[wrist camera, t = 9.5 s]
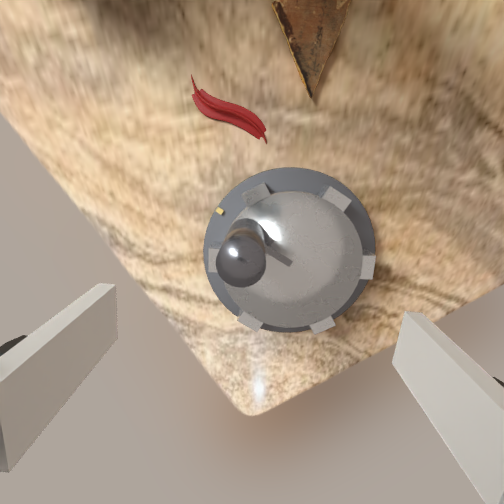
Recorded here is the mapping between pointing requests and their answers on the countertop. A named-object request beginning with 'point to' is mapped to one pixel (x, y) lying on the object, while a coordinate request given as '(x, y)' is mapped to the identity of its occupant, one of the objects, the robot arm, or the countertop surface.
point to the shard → (311, 33)
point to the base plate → (276, 182)
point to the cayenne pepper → (228, 113)
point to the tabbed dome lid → (291, 258)
